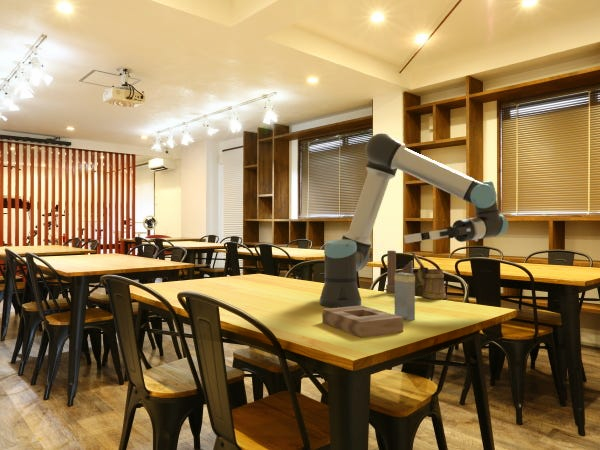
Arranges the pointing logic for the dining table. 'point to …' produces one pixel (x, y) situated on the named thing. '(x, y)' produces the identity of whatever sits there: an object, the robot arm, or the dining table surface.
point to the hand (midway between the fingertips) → (417, 237)
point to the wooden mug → (431, 281)
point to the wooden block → (392, 270)
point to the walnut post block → (362, 321)
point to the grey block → (405, 295)
